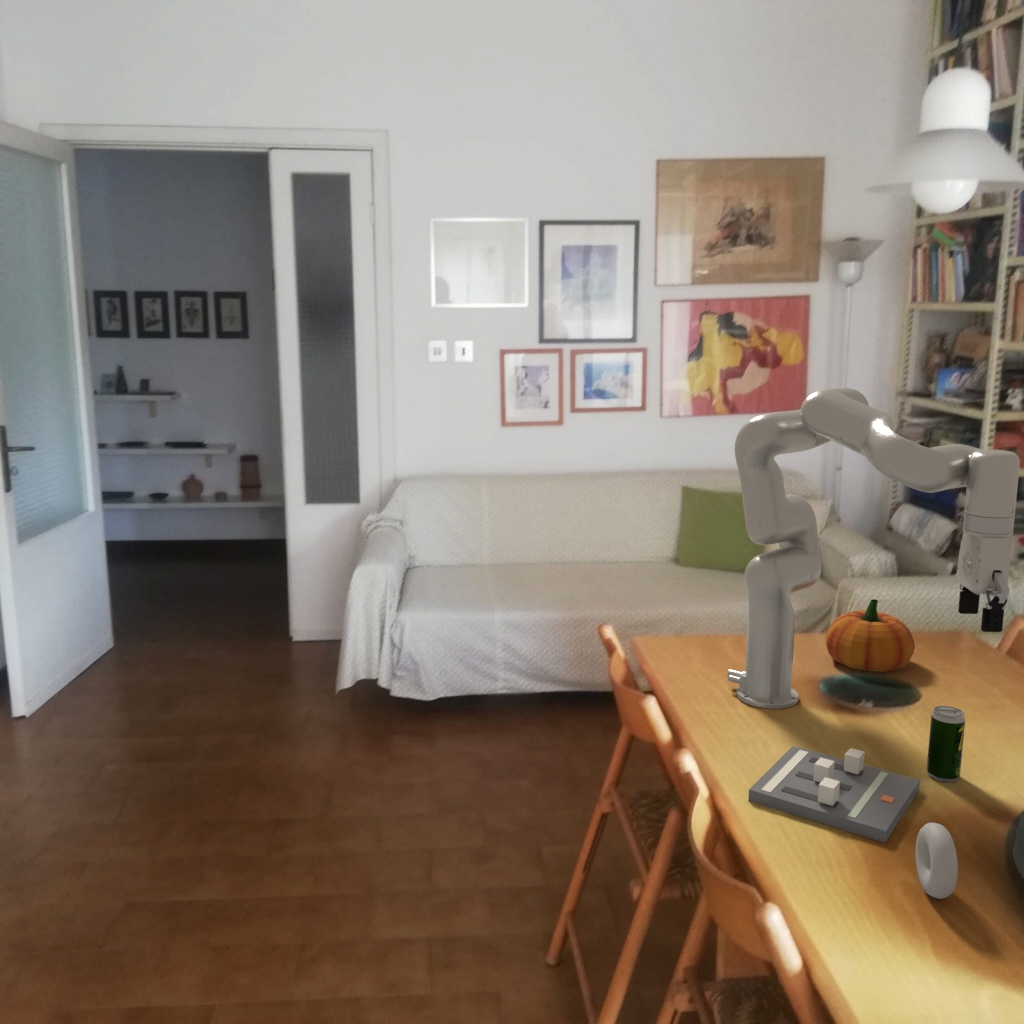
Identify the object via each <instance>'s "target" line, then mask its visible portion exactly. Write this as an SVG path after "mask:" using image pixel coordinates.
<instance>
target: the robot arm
mask: <svg viewBox="0 0 1024 1024" xmlns="http://www.w3.org/2000/svg"><path fill="white" fill-rule="evenodd" d="M894 424H895V423H894V420H893V418H892V416H891V415H890V414H889V413H886V412H885V411H882V410H879V409H877V408H874V407H872V406H870V403H869V401H868V400H867V398H866V396H865V395H864V394H863V392H860V391H859V390H857V389H855V388H852V387H839V388H827V389H820V390H817V391H815V392H813V393H810V394H809V395H807V397H806V398H805V399H804V400H803V402H802V404H801V406H800V409H795V410H786V411H785V410H784V411H774V412H769V413H764V414H759V415H757V416H754V417H753V418H751V419H749V420H748V421H747V422H745V424H743V425H742V426H741V428H740V429H739V430H738V433H737V435H736V436H735V437H736V438H735V442H734V457H735V462H736V467H737V470H738V475H739V480H740V487H741V498H742V505H743V514H744V522H745V529H746V532H747V536H748V537H749V539H750V540H751V541H752V542H753V543H754V544H757V545H759V546H770V545H776V544H778V547H779V548H777V549H773V550H768V551H764V552H763V553H760V554H758V555H756V556H754V557H753V558H752V559H751V560H750V561H749V562H748V564H747V566H746V567H745V570H744V585H745V591H746V598H747V602H746V603H747V616H746V617H747V619H746V626H747V627H746V646H745V648H746V650H745V666H744V667H745V668H744V670H743V671H739V670H736V669H731V668H729V669H728V671H727V675H726V676H727V680H728V682H731V683H737V684H738V685H739V686H738V687H737V688H736V696H737V698H738V699H739V700H740V701H741V702H743V703H745V704H747V705H749V706H752V707H755V708H756V707H757V708H762V709H770V710H772V709H773V710H776V709H778V710H779V709H785V708H786V709H787V708H790V707H793V706H795V705H796V704H797V703H798V702H799V697H800V695H799V693H798V691H797V690H795V688H792V684H793V683H792V682H793V681H792V679H793V663H794V661H793V660H794V648H795V646H794V644H795V630H796V629H795V627H796V616H795V615H796V614H795V611H794V607H793V604H792V602H791V595H793V594H794V593H797V592H798V593H799V592H801V591H804V590H807V589H809V588H812V587H813V586H815V584H816V583H817V582H818V581H819V580H820V577H821V575H822V558H821V548H820V540H819V532H818V530H819V529H818V524H817V523H818V522H817V518H816V513H815V511H814V508H813V507H812V505H811V504H810V503H809V501H808V500H807V499H806V498H805V497H804V496H801V495H798V494H793V493H788V494H786V491H785V490H786V489H785V480H784V476H783V472H782V470H781V468H780V466H779V464H778V463H777V461H776V460H775V457H776V456H779V455H785V454H786V455H787V454H793V453H799V452H805V451H809V450H811V449H814V448H817V447H820V446H822V445H825V444H826V443H830V442H834V443H835V444H836V443H837V444H839V445H841V446H842V447H845V448H847V449H848V450H851V451H853V452H855V453H858V454H860V455H861V456H863V457H865V458H866V460H867V461H868V462H869V463H870V464H871V465H872V467H874V468H875V469H876V470H877V471H878V472H879V473H881V474H883V475H884V476H885V477H887V478H889V479H891V480H893V481H895V482H897V483H900V484H902V485H904V486H906V487H908V488H911V489H913V490H916V491H919V492H923V493H929V494H930V493H937V492H938V493H939V492H942V491H945V490H951V489H958V488H965V487H966V489H965V502H964V514H963V526H962V532H963V533H962V537H961V541H960V547H959V554H958V559H957V566H956V567H957V569H956V574H955V575H956V581H958V583H959V590H960V591H959V599H958V609H957V611H958V613H959V614H961V615H976V614H978V613H979V606H980V596H981V595H982V597H983V601H984V605H985V606H984V607H982V615H981V624H980V630H981V631H982V632H983V633H1001V632H1002V631H1003V625H1004V614H1005V610H1006V608H1007V607H1006V606H1007V602H1008V597H1009V594H1010V591H1011V590H1010V587H1009V585H1008V584H1009V578H1010V577H1009V576H1010V575H1009V574H1010V557H1011V551H1010V549H1011V547H1010V537H1012V536H1013V534H1014V528H1015V527H1014V525H1015V519H1016V518H1015V517H1016V516H1015V515H1016V509H1017V508H1016V506H1017V505H1016V504H1017V495H1018V487H1019V475H1020V467H1021V466H1020V463H1021V460H1020V457H1019V455H1018V454H1016V452H1013V451H1009V450H1003V449H1002V450H1001V449H983V448H979V447H974V446H971V445H967V444H962V443H951V444H943V445H937V446H933V447H927V446H924V445H921V444H919V443H916V442H914V441H912V440H910V439H907V438H905V437H903V436H901V435H900V434H898V433H897V432H895V431H894ZM991 597H992V599H991Z"/></svg>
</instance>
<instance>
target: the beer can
mask: <svg viewBox="0 0 1024 1024" xmlns="http://www.w3.org/2000/svg"><path fill="white" fill-rule="evenodd" d="M965 726H966V717H965V712H964V711H963V710H962V709H960V708H958V707H954V706H950V705H949V706H948V705H938V706H935V707H933V709H932V712H931V715H930V727H929V738H928V747H927V749H928V750H927V759H926V760H927V761H926V762H927V763H926V771H927V774H928V776H929V777H930V778H932V779H934V780H936V781H938V782H942V783H954V782H956V781H958V780H959V778H960V777H961V769H962V756H963V748H964V739H965V738H964V737H965Z"/></svg>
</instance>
